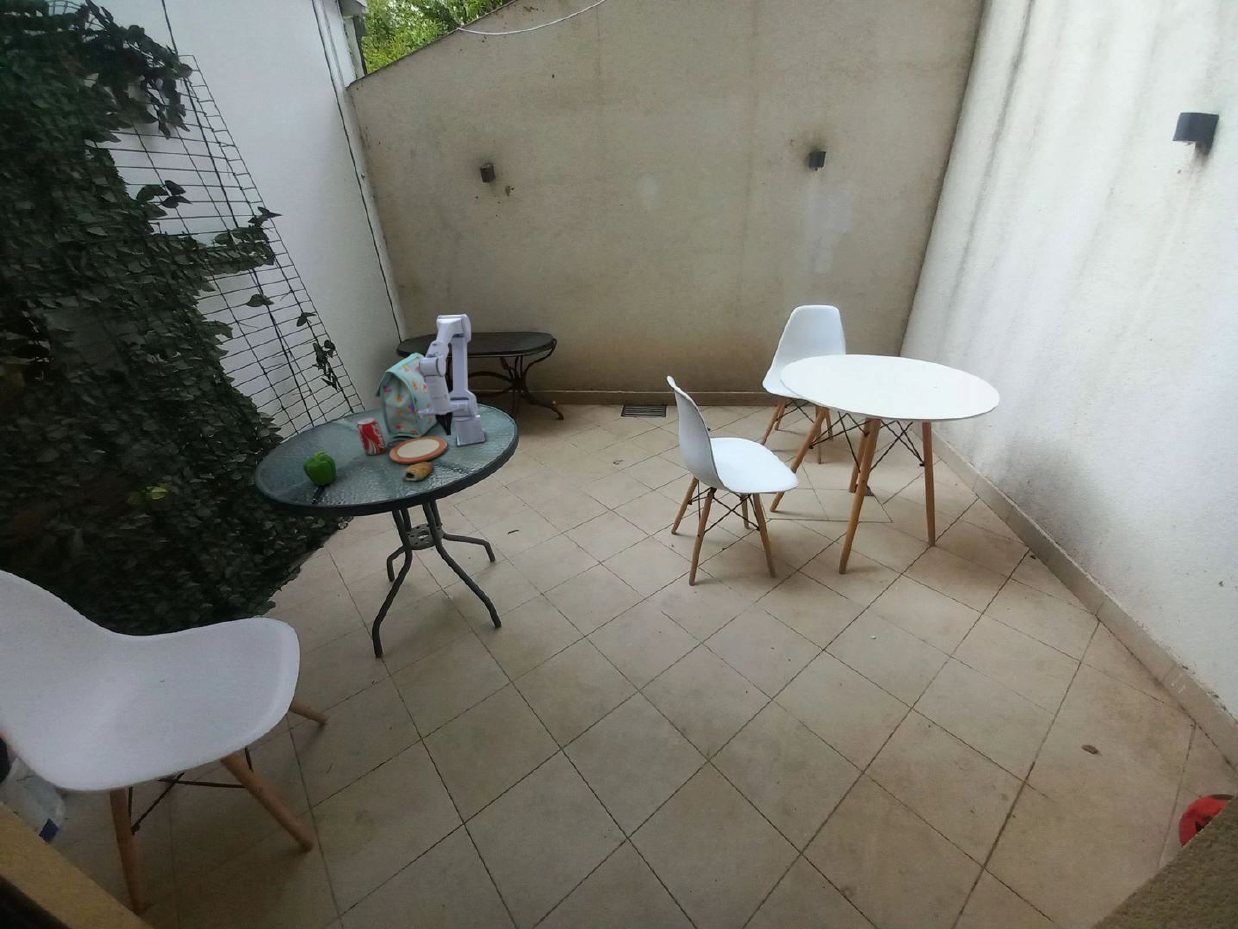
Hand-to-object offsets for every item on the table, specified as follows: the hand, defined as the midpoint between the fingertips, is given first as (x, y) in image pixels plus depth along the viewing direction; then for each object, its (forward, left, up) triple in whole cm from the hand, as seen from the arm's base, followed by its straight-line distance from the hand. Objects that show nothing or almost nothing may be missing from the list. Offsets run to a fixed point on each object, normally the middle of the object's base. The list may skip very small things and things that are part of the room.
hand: (448, 434), depth 156 cm
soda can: (+27, -18, -10) cm, 34 cm away
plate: (+12, -11, -9) cm, 19 cm away
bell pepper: (+40, -1, -10) cm, 41 cm away
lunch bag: (+13, -35, -10) cm, 39 cm away
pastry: (+11, +7, -10) cm, 16 cm away
